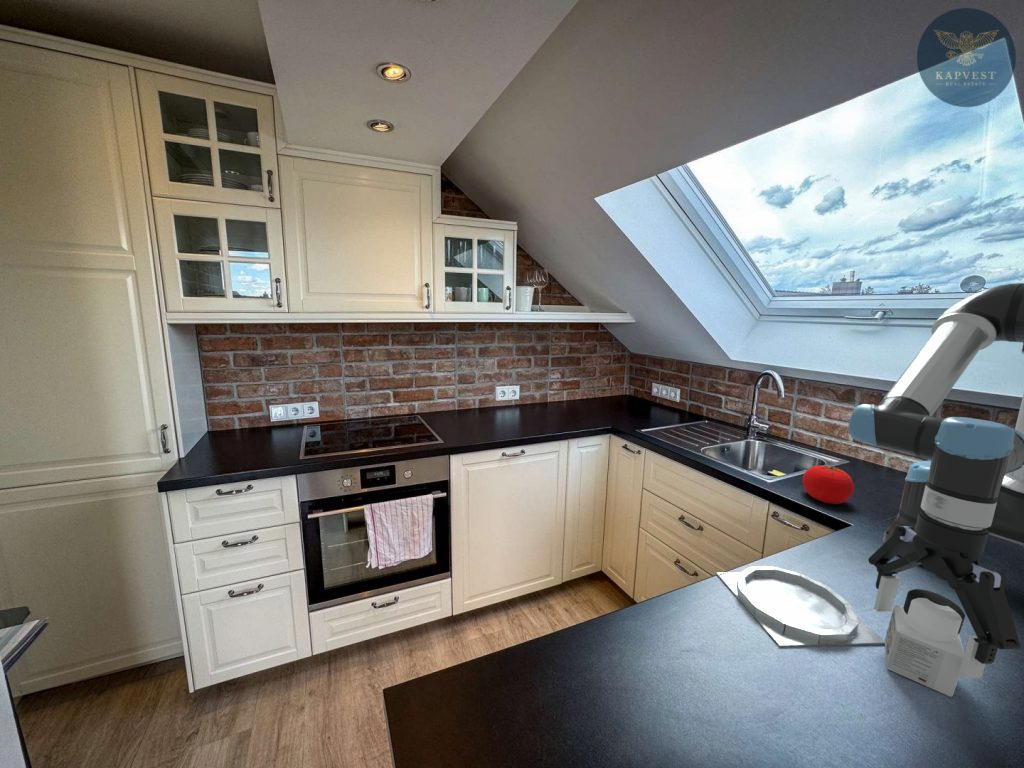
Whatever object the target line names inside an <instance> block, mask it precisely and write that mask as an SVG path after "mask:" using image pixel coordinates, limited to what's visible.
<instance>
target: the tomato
mask: <svg viewBox="0 0 1024 768" xmlns="http://www.w3.org/2000/svg"><path fill="white" fill-rule="evenodd" d="M802 486H803V488H804V490H805V492H806V494H809V496H810V497H812V498H813V499H815V500H818V501H820V502H822V503H826V504H832V505H833V504H834V505H840V504H843V503H845V502H847V501H848V500H849V499H850V498H851V497H852V495H853V494H854V491H855V484H854V482H853V479H852V477H851V476H850V475H849V474H848V473H847V472H845V471H844V470H842V469H840V468H839V467H836V466H830V465H823V464H822V465H814V466H811V467H810V468H808V469H807V470H806V471H805V472H804V473H803V476H802Z"/></svg>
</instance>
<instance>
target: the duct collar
mask: <svg viewBox="0 0 1024 768" xmlns="http://www.w3.org/2000/svg"><path fill="white" fill-rule="evenodd" d="M727 572H728V571H727ZM727 572H719V571H718V572H716V576H718V575H720V574H722V575H720V576H718V578H719V579H720V580H721V581H722V582H723V584H724V585H725V586H726V587H727V588H728V589H729V591H730V592H731V593H732V594H733V595H734V597H736V599H737V600H738V601H739V602H740V603H741V605H742V606H743V607H744V608H745V609H746V610H747V611H748V613H749V614H750V615H751V616H752V617H753V618H754V620H755V621H757V623H758V624H759V625H760V627H762V629H763V630H764V631H765V632H766V634H767V635H769V637H770V638H771V639H772V641H774V643H775V644H776V645H777V646H778V647H779V648H792V647H793V648H796V647H797V648H798V647H799V648H800V647H803V648H804V647H834V646H835V647H837V646H838V647H839V646H840V647H841V646H872V645H873V646H874V645H875V646H877V645H878V646H879V645H880V646H881V645H884V646H885V638H883V637H881V635H879V634H878V633H877V632H875V631H874V630H873V629H872V628H871V627H870V626H868V625H867V624H866V623H865V622H864V621H863V620H861V619H860V618H859V617H858V616H857V615H856V613H855V610H854V607H853V605H852V604H851V603H850V602H849V601H847V600H846V599H845V598H843V597H842V596H841V595H840V594H838V593H837V592H836V591H835V590H834V589H833V588H832V587H830V586H828V585H826V584H823V583H822V582H819V581H818V580H815V579H813V578H812V577H810V576H809V575H807V574H806V573H805V572H804V571H794V570H793V571H792V570H789V569H785V568H782V567H778V566H772V565H770V566H769V565H768V566H767V565H766V566H764V565H763V566H757V565H754V566H749V567H747V568H745V569H744V570H742V571H741V572H740V571H739V572H738V571H737V572H735V571H734V572H731V571H730V572H728V573H727ZM723 573H724V574H723Z"/></svg>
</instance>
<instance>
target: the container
mask: <svg viewBox="0 0 1024 768" xmlns="http://www.w3.org/2000/svg"><path fill="white" fill-rule="evenodd" d="M891 612H892V613H891V616H890V620H889V624H888V628H887V630H886V634H885V638H884V640H885V645H884V649H885V650H884V652H885V664H886V665H885V666H886V668H887V670H890V671H892V672H893V673H896V674H897V675H900V676H902V677H905V678H907V679H910V680H911V681H914V682H916V683H918V684H921V685H923V686H925V687H927V688H929V689H932V690H934V691H936V692H939V693H941V694H943V695H945V696H948V697H953V696H954V694H955V690H956V687H957V684H958V682H959V679H960V676H961V675H959V671H960V668H961V664H962V661H963V657H964V653H965V649H964V647H963V642H962V639H961V635H960V634H961V630H962V628H963V624H964V621H965V618H966V613H965V611H963V609H962V608H961V607H960V606H959V605H958V604H956V602H954V601H953V600H951V599H949V598H947V597H945V596H943V595H942V594H939V593H936V592H933V591H930V590H928V589H927V590H926V589H921V588H920V589H919V588H914V589H910V590H908V591H907V594H906V597H905V601H904V604H903V606H901V605H899V604H894V605H893V609H892V611H891Z"/></svg>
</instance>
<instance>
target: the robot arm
mask: <svg viewBox="0 0 1024 768" xmlns="http://www.w3.org/2000/svg"><path fill="white" fill-rule="evenodd" d="M930 332H931V336H930V337H929V339H928V340H927V341H926V342H925V344H924V345H923V347H922V348H921V349H920V350H919V352H918V353H917V354H916V356H915V357H914V358H913V360H912V361H911V362H910V364H909V365H908V366H907V367H906V369H904V371H903V373H902V374H901V375H900V377H899V378H898V379H897V381H896V382H895V383H894V384H893V385H892V387H891V388H890V390H889V391H888V392H887V393H886V395H885V396H883V398H882V400H881V401H880V402H879V404H878V405H876V404H873V403H871V404H867V403H861V404H860V405H857V406H855V408H854V409H853V411H852V412H851V415H850V417H849V421H848V432H849V435H850V437H851V438H852V439H853V440H855V441H857V442H860V443H864V444H866V445H870V446H873V447H876V448H883V449H886V450H890V451H894V452H899V453H902V454H903V453H904V454H908V455H911V456H916V457H918V458H919V457H920V458H922V459H926V460H925V461H924V460H923V461H922V460H921V461H916V462H913V463H912V464H910V466H909V468H908V471H907V474H906V477H904V478H905V479H904V482H905V483H904V486H903V491H902V496H901V500H900V503H899V504H900V505H899V509H898V510H899V511H898V512H897V513H898V514H897V516H896V517H895V519H894V520H893V521H892V523H891V524H890V525H889V526H888V527H887V529H885V531H884V533H883V538H882V545H881V546H880V547H879V548H878V549H876V551H874V553H873V554H871V555H870V556H869V558H868V559H867V560H868V563H869V564H870V565H873V566H875V568H876V572H877V577H876V582H875V589H877V594H876V597H875V601H874V606H873V609H874V610H875V611H876V612H881V613H882V612H893V609H894V606H895V599H896V595H897V592H898V589H899V583H900V579H901V578H899V577H898V576H897V575H899V573H902V572H904V571H907V570H909V569H912V568H915V567H918V566H923V568H924V569H925V570H927V571H929V572H932V573H933V574H935V575H936V576H937V577H939V578H940V579H942V580H944V581H945V580H946V581H947V584H948V585H949V587H950V588H951V589H952V590H954V592H955V593H956V596H957V598H958V600H959V602H960V605H961V606H962V608H963V610H964V613H965V616H966V617H967V618H968V621H969V623H970V624H971V627H972V629H973V631H974V632H975V633H974V635H969V636H968V638H967V640H968V641H967V643H966V648H965V649H964V652H965V653H964V657H963V661H962V664H961V668H960V671H959V675H960V676H961V677H962V678H963V679H982V678H983V675H984V670H985V667H986V665H989V664H991V665H992V664H993V663H994V662H995V659H996V656H997V655H996V654H997V652H998V650H1020V649H1021V643H1020V640H1019V636H1018V632H1017V629H1016V626H1015V623H1014V619H1013V616H1012V612H1011V608H1010V605H1009V602H1008V598H1007V595H1006V591H1005V587H1006V580H1007V577H1006V574H1004V573H1003V572H1001V571H992V570H990V569H987V568H985V567H982V566H981V565H980V561H979V558H980V556H981V555H982V554H983V553H984V552H985V547H986V544H987V540H988V537H989V535H990V536H994V537H997V538H999V539H1003V540H1006V541H1007V542H1012V543H1015V544H1016V545H1017V544H1018V545H1020V546H1023V547H1024V393H1023V395H1022V400H1021V403H1020V407H1019V411H1018V416H1017V419H1016V424H1015V428H1013V427H1010V426H1008V425H1007V424H1003V423H1000V422H995V421H992V420H985V419H979V418H972V417H963V416H962V417H961V416H959V417H958V416H950V417H946V418H945V417H938V416H934V413H936V411H937V410H938V408H939V407H940V406H941V404H943V403H942V402H943V401H944V400H945V398H946V397H947V396H948V394H949V393H950V392H951V390H952V389H953V387H954V386H955V384H956V383H957V382H958V380H959V379H960V378H961V376H962V375H963V373H964V372H965V371H966V370H967V368H968V366H969V365H970V364H971V362H972V361H973V360H974V358H975V357H976V356H977V354H978V353H979V351H981V350H983V349H984V350H985V349H986V348H988V347H990V346H991V345H992V344H993V343H994V342H1008V343H1009V342H1011V343H1012V342H1013V343H1022V348H1021V354H1023V355H1024V283H1023V282H1021V283H1018V282H1017V283H1006V284H1001V285H996V286H993V287H990V288H986V289H984V290H981V291H978V292H976V293H973V294H971V295H969V296H967V297H965V298H963V299H961V300H960V301H958V302H956V303H955V304H953V305H952V306H950V307H949V308H947V309H946V310H945V311H944V312H943V313H941V314H940V316H939V317H938V318H937V319H936V320H935V322H934V323H933V325H932V327H931V331H930ZM896 556H899V557H898V558H897V559H895V560H893V559H894V558H895V557H896ZM891 560H892V561H891ZM975 576H976V577H975ZM961 580H963V581H965V582H960V581H961Z"/></svg>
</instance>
